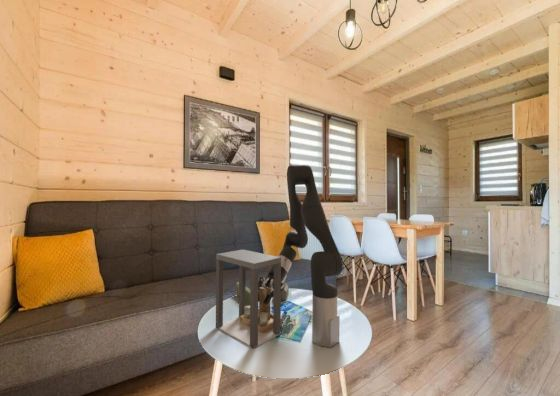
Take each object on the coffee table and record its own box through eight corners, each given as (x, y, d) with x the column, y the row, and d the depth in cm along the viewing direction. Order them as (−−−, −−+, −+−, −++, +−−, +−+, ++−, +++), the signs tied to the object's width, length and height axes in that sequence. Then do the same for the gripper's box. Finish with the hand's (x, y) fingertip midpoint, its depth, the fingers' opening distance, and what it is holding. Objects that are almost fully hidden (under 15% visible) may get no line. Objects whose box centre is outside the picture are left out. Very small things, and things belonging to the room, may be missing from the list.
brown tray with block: (282, 323, 115) (283, 290, 115) (263, 333, 106) (263, 297, 106) (259, 313, 124) (259, 282, 124) (239, 321, 116) (239, 288, 116)
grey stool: (280, 334, 107) (281, 257, 107) (253, 348, 97) (254, 263, 97) (242, 316, 123) (242, 249, 123) (215, 327, 112) (216, 254, 112)
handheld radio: (241, 293, 153) (260, 309, 131) (235, 294, 151) (254, 310, 130) (240, 281, 153) (260, 295, 131) (235, 282, 151) (254, 296, 130)
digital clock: (278, 290, 157) (278, 272, 157) (293, 292, 154) (293, 273, 154) (266, 300, 142) (267, 280, 142) (283, 303, 139) (283, 282, 139)
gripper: (264, 260, 127) (244, 293, 118) (288, 266, 117) (268, 302, 108) (272, 269, 131) (253, 302, 122) (296, 275, 121) (277, 311, 112)
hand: (260, 302), depth 115 cm, fingers closed on brown tray with block, 4 cm apart
